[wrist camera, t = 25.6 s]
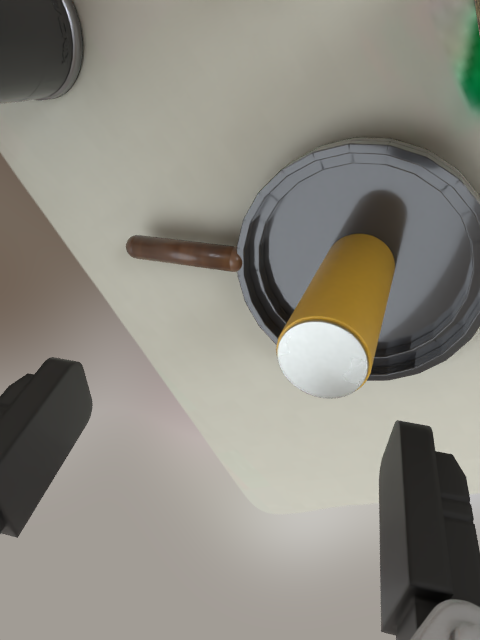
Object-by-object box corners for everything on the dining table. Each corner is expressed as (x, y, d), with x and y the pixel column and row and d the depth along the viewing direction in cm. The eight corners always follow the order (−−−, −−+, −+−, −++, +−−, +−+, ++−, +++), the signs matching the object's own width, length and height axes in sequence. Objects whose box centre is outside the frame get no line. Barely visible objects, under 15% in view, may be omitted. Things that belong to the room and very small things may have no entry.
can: (323, 291, 37) (273, 389, 26) (328, 230, 34) (275, 311, 24) (389, 301, 35) (365, 410, 25) (400, 237, 33) (377, 328, 22)
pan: (251, 339, 43) (240, 357, 40) (248, 132, 34) (233, 139, 31) (462, 379, 37) (463, 402, 34) (528, 140, 28) (535, 149, 25)
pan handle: (136, 252, 41) (123, 260, 39) (132, 230, 40) (119, 238, 38) (250, 267, 37) (242, 277, 36) (250, 244, 36) (241, 253, 35)
